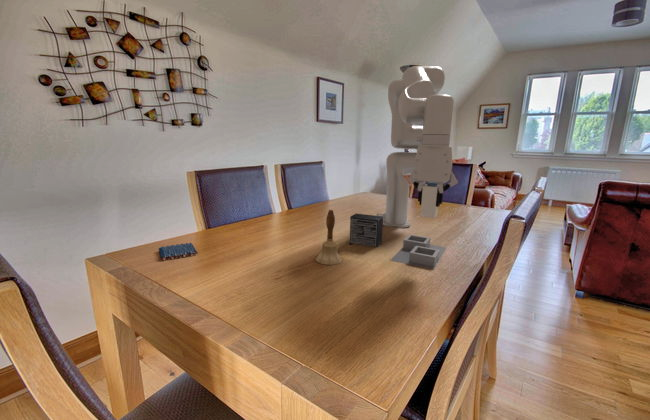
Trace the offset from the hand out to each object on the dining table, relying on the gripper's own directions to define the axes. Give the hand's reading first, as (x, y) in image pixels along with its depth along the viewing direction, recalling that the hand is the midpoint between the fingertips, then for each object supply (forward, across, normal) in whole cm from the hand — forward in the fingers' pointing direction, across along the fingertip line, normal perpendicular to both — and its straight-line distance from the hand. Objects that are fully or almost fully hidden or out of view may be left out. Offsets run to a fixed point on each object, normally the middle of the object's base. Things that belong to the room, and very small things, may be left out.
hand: (429, 204), depth 93 cm
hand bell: (+19, -26, -13) cm, 35 cm away
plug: (+3, 0, 0) cm, 3 cm away
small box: (+19, -22, +7) cm, 30 cm away
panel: (+18, -3, +6) cm, 20 cm away
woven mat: (+19, -70, -34) cm, 80 cm away
